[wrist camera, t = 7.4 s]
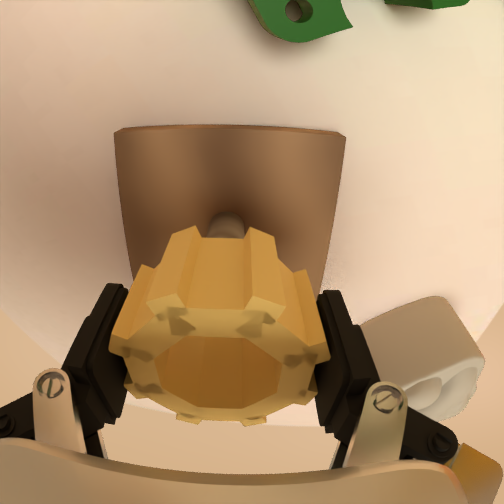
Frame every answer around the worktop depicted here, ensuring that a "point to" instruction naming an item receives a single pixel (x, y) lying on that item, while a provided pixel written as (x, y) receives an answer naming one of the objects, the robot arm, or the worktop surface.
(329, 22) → the clamp
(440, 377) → the lumpy-topped squat cylinder
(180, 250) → the mustard gear
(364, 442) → the robot arm
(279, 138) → the gear board
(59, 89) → the worktop surface
